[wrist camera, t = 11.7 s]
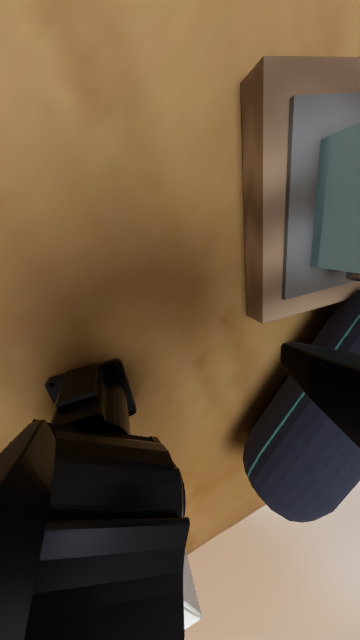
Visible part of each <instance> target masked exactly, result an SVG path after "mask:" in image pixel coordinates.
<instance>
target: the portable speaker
mask: <svg viewBox="0 0 360 640" xmlns="http://www.w3.org/2000/svg"><path fill="white" fill-rule="evenodd" d="M311 345H315V346H320V347H325V348H331V349H336V350H341V351H346V352H351V353H356V354H360V291H358V292H356V293H355V294H353V295H352V296H351V297H350V298H349V299H348V300H345V301H344V302H343V303H342V304H341V305H340V306H339V307H338V308H337V309H336V310H335V311H334V312H333V314H332V315H331V316H330V318H329V319H328V321H327V322H326V323H325V325H324V326H323V328H322V329H321V331H320V332H319V334H318V335H317V336H316V338H315V339H314V341H313V342H312V344H311ZM243 463H244V468H245V472H246V474H247V477H248V479H249V481H250V483H251V485H252V487H253V488H254V490H255V491H256V492H257V494H258V495H259V497H260V498H261V499H262V500H263V501H264V502H265V503H266V504H267V505H268V506H269V508H270V509H271V510H273V511H274V512H276V513H278V514H279V515H281V516H283V517H284V518H286V519H287V520H289V521H295V522H308V521H314V520H316V519H319V518H321V517H323V516H325V515H327V514H328V513H331V512H333V511H334V510H335V509H336V508H337V506H338V505H339V504H340V503H341V502H342V501H343V499H344V498H345V497H346V496H347V495H348V494H349V492H350V491H351V490H352V489H353V488H354V487H355V486H356V484H357V483H358V482H359V481H360V449H359V448H358V447H357V446H356V445H355V444H354V443H353V442H352V441H351V440H350V438H349V437H348V436H347V435H346V434H345V433H344V432H343V431H342V430H341V429H340V428H339V427H338V426H337V425H336V424H335V423H334V422H333V421H332V420H331V419H330V418H329V417H328V416H327V415H326V414H325V413H324V412H323V411H322V410H321V409H320V408H319V407H318V406H317V405H316V404H315V403H314V402H313V401H312V400H311V399H310V398H309V397H308V396H307V395H306V394H305V393H304V392H303V390H302V389H301V388H300V387H299V386H298V384H297V383H296V382H295V381H294V379H293V378H292V377H291V376H290V375H289V377H288V378H287V379H286V381H285V382H284V384H283V385H282V387H281V388H280V390H279V391H278V392H277V394H276V395H275V397H274V398H273V400H272V401H271V402H270V404H269V405H268V407H267V408H266V410H265V411H264V413H263V414H262V415H261V417H260V418H259V420H258V421H257V423H256V424H255V425H254V427H253V428H252V430H251V432H250V435H249V437H248V439H247V441H246V444H245V447H244V454H243Z"/></svg>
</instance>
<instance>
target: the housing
mask: <svg viewBox="0 0 360 640" xmlns="http://www.w3.org/2000/svg"><path fill="white" fill-rule="evenodd" d="M310 266H311V267H318V268H324V269H331V270H338V271H345V272H346V279H348V280H352V281H360V122H358V123H356V124H354V125H352V126H349V127H347V128H345V129H343V130H341V131H338V132H336V133H334V134H332V135H330V136H328V137H325V138H323V139H321V145H320V156H319V168H318V180H317V192H316V203H315V215H314V227H313V239H312V250H311V262H310Z"/></svg>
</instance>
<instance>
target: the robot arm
mask: <svg viewBox="0 0 360 640" xmlns="http://www.w3.org/2000/svg"><path fill="white" fill-rule="evenodd" d="M280 360H281V364H282V366H283V367H284V369H285V370H286V371H287V372H288V373H289V375H290V376H291V377H292V378H293V379H294V381H295V382H296V383H297V384H298V386H299V387H300V388H301V389H302V390H303V392H304V393H305V394H306V395H307V396H308V397H309V398H310V399H311V400H312V401H313V402H314V403H315V404H316V405H317V406H318V407H319V408H320V409H321V410H322V411H323V412H324V413H325V414H326V415H327V416H328V417H329V418H330V419H331V420H332V421H333V422H334V423H335V424H336V425H337V426H338V427H339V428H340V429H341V430H342V431H343V432H344V433H345V434H346V435H347V436H348V437H349V438H350V440H351V441H352V442H353V443H354V444H355V445H356V446H357V447H358V448H359V449H360V354H356V353H351V352H346V351H341V350H336V349H331V348H325V347H320V346H315V345H310V344H305V343H300V342H294V341H290V342H286V343H283V344H282V346H281V359H280ZM115 364H119V366H114V365H115ZM50 383H54V385H51V384H50ZM45 387H46V389H47V391H48V393H49V395H50V397H51V399H52V401H53V403H54V405H55V410H54V413H53V416H52V420H51V423H47V422H46V421H45V420H36V419H33V421H32V423H30V424H29V425H28V426H27V427H26V428H25V429H24V430H23V431H22V432H21V433H20V434H19V435H18V436H17V437H16V438H15V439H14V440H13V441H11V442H10V444H9V445H8V446H7V447H6V448H5V449H4V450H3V451H2V452H1V453H0V640H184V601H183V569H184V556H185V546H186V541H187V536H188V531H189V526H190V521H189V518H188V517H184V516H185V504H186V501H185V489H184V483H183V479H182V476H181V472H180V470H179V468H178V467H176V465H175V464H174V462H173V461H172V459H171V457H170V454H169V451H168V450H167V449H166V448H165V447H164V445H163V444H161V442H160V441H159V439H158V438H157V437H153V436H150V437H142V436H135V435H131V434H130V424H129V416H131V415H134V414H135V413H136V406H135V403H134V399H133V396H132V393H131V390H130V386H129V383H128V380H127V376H126V373H125V370H124V367H123V363H122V361H121V360H118V359H116V360H112V361H108V362H105V363H101V364H93V365H89V366H86V367H82V368H78V369H75V370H71V371H68V372H66V374H62V375H59V376H55V377H52V378H49V379H48V380H47V381H46V384H45ZM131 409H133V410H132V411H130V410H131Z"/></svg>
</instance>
